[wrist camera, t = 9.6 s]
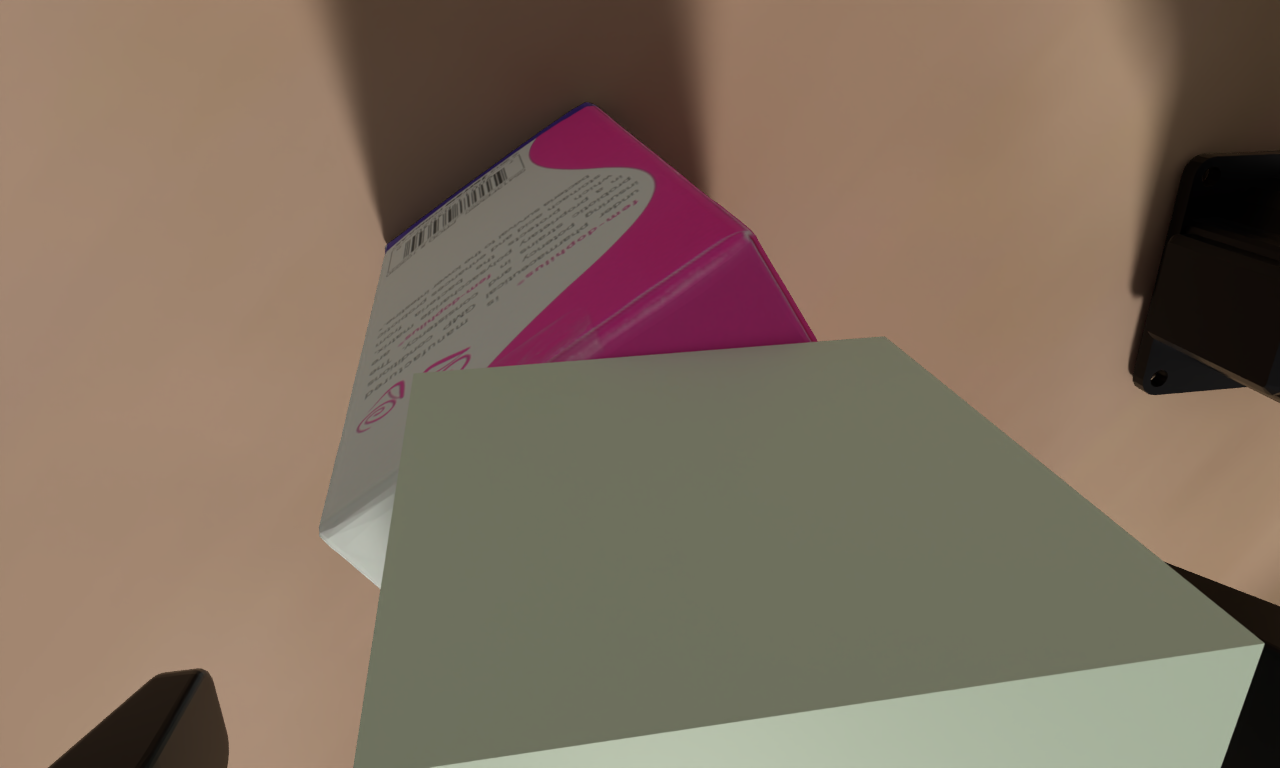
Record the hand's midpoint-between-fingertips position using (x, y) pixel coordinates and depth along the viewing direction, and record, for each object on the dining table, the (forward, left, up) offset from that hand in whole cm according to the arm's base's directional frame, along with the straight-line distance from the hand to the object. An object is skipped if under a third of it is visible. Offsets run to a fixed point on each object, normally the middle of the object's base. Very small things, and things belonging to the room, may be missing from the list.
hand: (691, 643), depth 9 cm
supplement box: (0, 0, -13) cm, 13 cm away
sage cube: (0, 0, -2) cm, 2 cm away
